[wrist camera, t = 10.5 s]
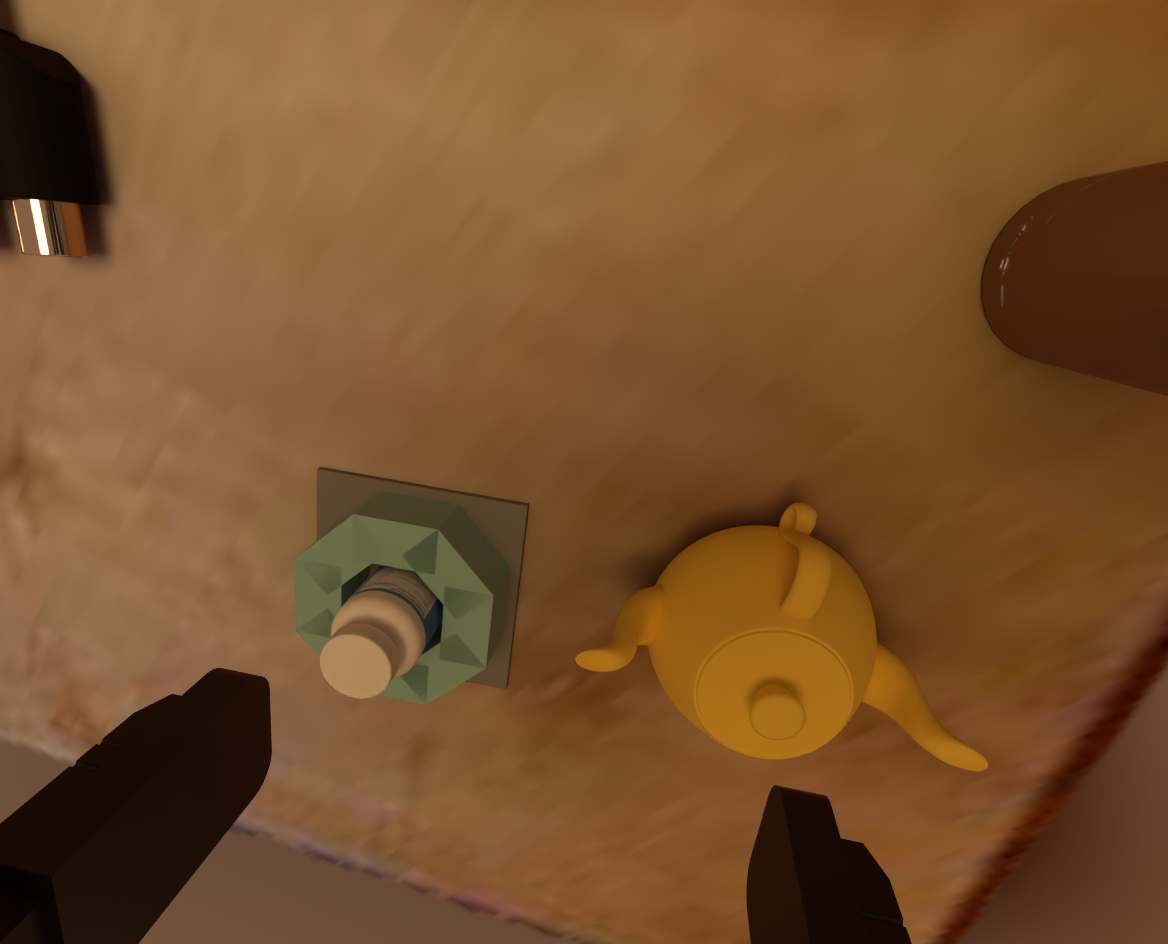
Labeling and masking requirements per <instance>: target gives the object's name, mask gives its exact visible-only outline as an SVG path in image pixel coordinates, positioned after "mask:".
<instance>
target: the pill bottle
mask: <svg viewBox="0 0 1168 944" xmlns="http://www.w3.org/2000/svg"><path fill="white" fill-rule="evenodd" d="M443 606H444V605H443V603H442V602H441V601H440V600H439V599H438V598H437V596H436V595H435V594H434V593H433V592H432V591H431V589H430V588H429V587H428V586H427V585H426V584H425V582H424V581H423V580H422V579H421V578H420V577H419V575H418V574H417V573H416V572H415V571H411V570H406V569H400V568H395V567H389V566H384V565H379V566H378V568H377V569H376V570H375V571H374V572H373V573H372V574H371V575H370V576H369V578H368V579H367V580H366V581H365V582H364V583H363V584H362V585H361V586H360V587H359V589H358V590H357V591H356V592H355V593H354V594H353V595H352V596H351V597H350V598H349V599H348V600H347V601H346V602H345V604H344V605H343V606H342V607H341V608H340V609H339V610H338V612H337V613H336V615H335V617H334V619H333V622H332V626H331V638H330V639H329V640H328V642H327V643H326V644H325V646H324V647H323V649H322V652H321V655H320V667H321V670H322V673H323V675H324V677H325V679H326V680H327V681H328V683H329V684H330V685H331V686H332V687H333V688H334V689H336V690H337V691H339V692H340V693H342V694H345V695H347V696H350V697H354V698H370V697H373V696H376V695H378V694H379V693H381V692H382V691H383V690H385V688H386V687H387V686H388V684H389V683H390V682H391V680H392V679H393V678H396V677H399V676H401V675H403V674H405V673H406V672H408V671H409V670H410V669H411V668H412V667H413V666H414V665H415V664H416V662H417V661H418V659H419V658H420V656H421V654H422V653H423V651H424V649H425V648H426V646H427V644H428V643H429V641H430V639H431V638H432V636H433V634H434V633H435V631H436V629H437V628H438V626H439V624H440V623H441V621H442V619H443Z"/></svg>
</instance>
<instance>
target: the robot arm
mask: <svg viewBox="0 0 1168 944" xmlns="http://www.w3.org/2000/svg"><path fill="white" fill-rule="evenodd" d="M982 301H983V305H984V309H985V313H986V317H987V319H988V321H989V323H990V325H991V327H992V329H993V331H994V332H995V333H996V335H997V336H998V337H999V338H1000V339H1001V340H1002V341H1003V342H1004V343H1005V345H1007V346H1008V347H1010V348H1011V349H1013V350H1014V351H1016V352H1017V353H1019V354H1020V355H1023V356H1025V357H1028V358H1031V359H1033V360H1036V361H1039V362H1043V363H1047V364H1051V365H1054V366H1058V367H1062V368H1066V369H1069V370H1073V371H1076V372H1079V373H1083V374H1087V375H1091V376H1095V377H1098V378H1102V379H1106V380H1110V381H1114V382H1117V383H1121V384H1125V385H1129V386H1133V387H1136V388H1140V389H1144V390H1148V391H1152V392H1155V393H1159V394H1163V395H1167V396H1168V161H1165V162H1160V163H1155V164H1150V165H1145V166H1140V167H1134V168H1129V169H1124V170H1119V171H1114V172H1110V173H1105V174H1100V175H1095V176H1090V177H1085V178H1081V179H1077V180H1074V181H1070V182H1067V183H1063V184H1061V185H1058V186H1056V187H1054V188H1052V189H1050V190H1048V191H1046V192H1044V193H1042V194H1040V195H1039V196H1038V197H1036V198H1035V199H1034V200H1032V201H1031V202H1029V203H1028V204H1027V205H1025V206H1024V207H1023V208H1022V209H1021V210H1020V211H1019V212H1018V213H1017V214H1016V215H1015V216H1014V217H1013V218H1012V219H1011V220H1010V221H1009V222H1008V223H1007V224H1006V226H1005V227H1004V229H1003V230H1002V232H1001V233H1000V235H999V236H998V238H997V239H996V241H995V242H994V245H993V247H992V249H991V251H990V254H989V256H988V258H987V261H986V265H985V269H984V274H983V279H982ZM271 755H272V745H271V714H270V688H269V683H268V681H267V679H266V678H265V677H262V676H257V675H252V674H247V673H243V672H238V671H233V670H228V669H223V668H216V669H213V670H211V671H210V672H208V673H207V674H206V675H205V676H204V677H202V678H201V679H200V680H199V681H198V682H197V683H196V684H194V685H193V686H192V687H191V688H190V689H189V690H188V691H186V692H185V693H184V694H183V695H182V696H180V695H175V694H171V695H169V696H167V697H165V698H163V699H161V700H159V701H157V702H155V703H153V704H151V705H149V706H147V707H145V708H143V709H141V710H139V711H137V712H135V713H133V714H132V715H131V716H130V717H128V718H127V719H126V720H125V721H124V722H122V723H121V724H120V725H119V726H118V727H116V728H115V729H114V730H113V731H112V732H110V733H109V734H108V735H107V736H106V737H104V738H103V740H102V743H101V744H100V745H98V744H96V745H95V746H93V747H92V748H91V749H90V750H89V751H87V752H86V753H85V754H84V755H83V756H81V757H80V758H79V759H78V760H77V761H76V764H75V765H74V766H73V767H68V768H67V769H66V770H65V771H63V772H62V773H61V774H60V775H58V776H57V777H56V778H55V779H54V780H52V781H51V782H50V783H49V784H48V785H46V786H45V787H44V788H43V789H42V790H40V791H39V792H38V793H37V794H36V795H34V796H33V797H32V798H31V799H30V800H28V801H27V802H26V803H25V804H24V805H22V806H21V807H20V808H19V809H18V810H16V811H15V812H14V813H13V814H11V815H10V816H9V817H8V818H7V819H6V820H4V821H3V822H2V823H1V824H0V944H138V943H139V942H140V941H141V940H142V938H143V937H144V936H145V934H146V933H147V932H148V931H149V930H150V928H151V927H152V926H153V925H154V923H155V922H156V921H157V919H158V918H159V917H160V915H161V914H162V913H163V912H164V911H165V909H166V908H167V906H169V904H170V903H171V902H172V900H173V899H174V898H175V897H176V895H177V894H178V893H179V892H180V890H181V889H182V888H183V886H184V885H185V884H186V883H187V881H188V880H189V879H190V878H191V876H192V875H193V874H194V873H195V871H196V870H197V869H198V868H199V866H200V865H201V864H202V862H203V861H204V860H205V859H206V857H207V856H208V855H209V854H210V852H211V851H212V850H213V849H214V847H215V846H216V845H217V844H218V842H219V841H220V840H221V838H222V837H223V836H224V835H225V833H226V832H227V831H228V830H229V828H230V827H231V826H232V825H233V823H234V822H235V821H236V820H237V818H238V817H239V816H240V814H241V813H242V812H243V811H244V809H245V808H246V807H247V806H248V804H249V803H250V802H251V801H252V799H253V798H254V797H255V795H256V794H257V792H258V791H259V789H260V788H261V786H262V784H263V782H264V780H265V777H266V775H267V772H268V769H269V766H270V761H271ZM747 912H748V921H749V930H750V940H751V944H912V943H911V940H910V938H909V935H908V932H907V929H906V927H903V917H902V914H901V911H900V909H899V906H898V903H897V900H896V897H895V894H894V891H893V888H892V885H891V883H890V880H889V878H888V877H887V875H886V874H885V873H884V871H883V870H882V869H881V867H880V866H879V864H878V863H877V862H876V860H875V859H874V858H873V856H872V855H871V853H870V852H869V851H868V849H867V848H866V847H865V845H864V844H863V843H860V842H855V841H850V840H846V839H841V838H840V834H839V831H838V827H837V824H836V820H835V817H834V813H833V810H832V806H831V804H830V801H829V799H828V798H827V797H826V796H825V795H820V794H816V793H811V792H806V791H801V790H796V789H792V788H787V787H782V786H777V785H774V786H773V787H772V789H771V791H770V793H769V796H768V800H767V803H766V806H765V810H764V813H763V817H762V820H761V824H760V827H759V831H758V834H757V838H756V841H755V844H754V848H753V851H752V855H751V859H750V863H749V869H748V877H747Z"/></svg>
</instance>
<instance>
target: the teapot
mask: <svg viewBox="0 0 1168 944" xmlns="http://www.w3.org/2000/svg"><path fill="white" fill-rule="evenodd" d="M816 520H817V513H816V511H815V509H814V508H813V507H811V506H810V505H808V504H806V503H802V502H796V503H793V504H791V505H790V506H789V507H788V508H787V509H786V510H785V512H784V513H783V515H782V517H781V520H780V523H779V527H775V526H764V525H750V526H739V527H734V528H728V529H725V530H721V531H718V532H715V533H713V534H710V535H708V536H706V537H703V538H701V539H700V540H698V541H696V542H695V543H693V544H691V545H690V546H688V547H687V548H686V549H684V550H683V551H682V552H681V553H679V554H678V555H677V556H676V557H675V558H674V559H673V560H672V561H671V562H670V563H669V564H668V566H667V567H666V568H665V570H664V571H663V572H662V574H661V575H660V577H659V579H658V580H657V582H656V584H655V586H654V587H649V588H645V589H642V590H640V591H638V592H636V593H634V594H633V595H632V596H631V597H630V598H628V599H627V600H626V602H625V603H624V605H623V606H622V608H621V610H620V612H619V614H618V616H617V619H616V623H615V627H614V631H613V637H612V639H611V641H610V642H609V643H608V644H606V645H605V646H603V647H599V648H595V649H590V650H587V651H584V652H581V653H580V654H578V655H577V657H576V663H577V664H578V665H579V666H581V667H583V668H585V669H588V670H593V671H600V672H608V671H615V670H618V669H621V668H623V667H625V666H626V665H627V664H629V663H630V662H631V660H632V659H633V657H634V655H635V653H636V649H637V645H647V646H648V650H649V654H650V658H651V662H652V665H653V667H654V670H655V672H656V675H657V677H658V679H659V682H660V684H661V685H662V687H663V689H664V691H665V692H666V694H667V695H668V697H669V698H670V700H671V701H672V702H673V704H674V705H675V706H676V708H677V709H678V710H679V711H680V712H681V713H682V714H683V715H684V716H685V717H686V718H687V719H688V720H689V721H690V722H691V723H692V724H693V725H695V726H696V727H697V728H699V729H700V730H701V731H702V732H704V733H705V734H706V735H708V736H709V737H711V738H712V739H713V740H715V741H717V742H718V743H720V744H722V745H723V746H725V747H728V748H730V749H732V750H734V751H736V752H739V753H741V754H745V755H748V756H752V757H756V758H763V759H787V758H793V757H798V756H801V755H804V754H807V753H810V752H812V751H814V750H816V749H818V748H820V747H822V746H823V745H825V744H826V743H828V742H829V741H830V740H831V739H833V738H834V737H835V736H836V735H837V734H838V733H839V732H840V731H841V730H842V729H843V728H844V727H845V725H846V724H847V723H848V721H849V720H850V719H851V717H852V716H853V714H854V713H855V711H856V710H857V708H858V706H859V705H860V703H861V702H863V703H866V704H868V705H870V706H872V707H874V708H876V709H878V710H880V711H882V712H883V713H885V714H887V715H888V716H889V717H891V718H892V719H893V720H894V721H896V722H897V723H898V724H899V725H900V726H901V727H902V728H903V729H904V730H905V731H906V732H907V733H908V734H909V735H910V736H911V737H912V738H913V739H914V740H915V741H916V742H917V743H918V744H919V745H920V746H922V747H923V748H924V749H925V750H927V751H928V752H930V753H931V754H932V755H934V756H935V757H937V758H939V759H940V760H942V761H944V762H946V763H948V764H951V765H953V766H956V767H959V768H962V769H966V770H970V771H983V770H986V769H987V768H988V762H987V760H986V759H985V758H984V757H983V756H982V755H981V754H980V753H979V752H977V751H976V750H974V749H973V748H971V747H970V746H968V745H967V744H965V743H964V742H962V741H961V740H959V739H958V738H956V737H955V736H953V735H952V734H951V733H950V732H949V731H948V730H947V729H945V728H944V727H943V725H942V724H941V723H940V722H939V720H938V719H937V718H936V717H935V715H934V713H933V712H932V710H931V708H930V706H929V704H928V702H927V700H926V698H925V696H924V694H923V692H922V690H921V687H920V685H919V683H918V681H917V680H916V678H915V676H914V674H913V673H912V671H911V670H910V668H909V667H908V666H907V665H906V664H905V663H904V662H903V661H902V660H901V658H899V657H898V656H897V655H895V654H894V653H893V652H891V651H890V650H889V649H887V648H886V647H884V646H883V645H881V644H880V643H878V642H877V635H876V625H875V618H874V614H873V609H872V606H871V603H870V599H869V597H868V595H867V592H866V590H865V588H864V586H863V584H862V582H861V580H860V578H859V577H858V575H857V574H856V572H855V571H854V569H853V568H852V567H851V566H850V565H849V564H848V562H847V561H846V560H845V559H844V558H843V557H842V556H840V555H839V554H838V553H837V552H836V551H835V550H833V549H832V548H830V547H829V546H827V545H826V544H824V543H822V542H821V541H819V540H817V539H815V538H813V537H811V536H809V534H810V533H811V532H812V530H813V528H814V526H815V524H816Z"/></svg>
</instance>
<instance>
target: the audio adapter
mask: <svg viewBox="0 0 1168 944" xmlns="http://www.w3.org/2000/svg"><path fill="white" fill-rule="evenodd" d="M0 200H11V204H12V209H13V213H14V218H15V223H16V228H17V233H18V237H19V242H20V247H21V252H22V254H29V255H39V256H61V257H89V252H88V247H87V241H86V235H85V230H84V224H83V219H82V213H81V207H80V204H85V205H99V198H98V192H97V187H96V181H95V175H94V169H93V163H92V157H91V151H90V145H89V139H88V133H87V127H86V121H85V115H84V109H83V103H82V97H81V91H80V85H79V80H78V75H77V72H76V71H75V69H74V67H73V66H72V65H71V63H70V62H69V61H68V60H67V59H66V58H65V57H64V56H62V55H61V54H59V53H57V52H55V51H52V50H49V49H46V48H43V47H40V46H38V45H35V44H32V43H29V42H26V41H23V40H20V38H19V37H18V36H17V35H15V34H13V33H11V32H9V31H6V30H4V29H1V28H0Z"/></svg>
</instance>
